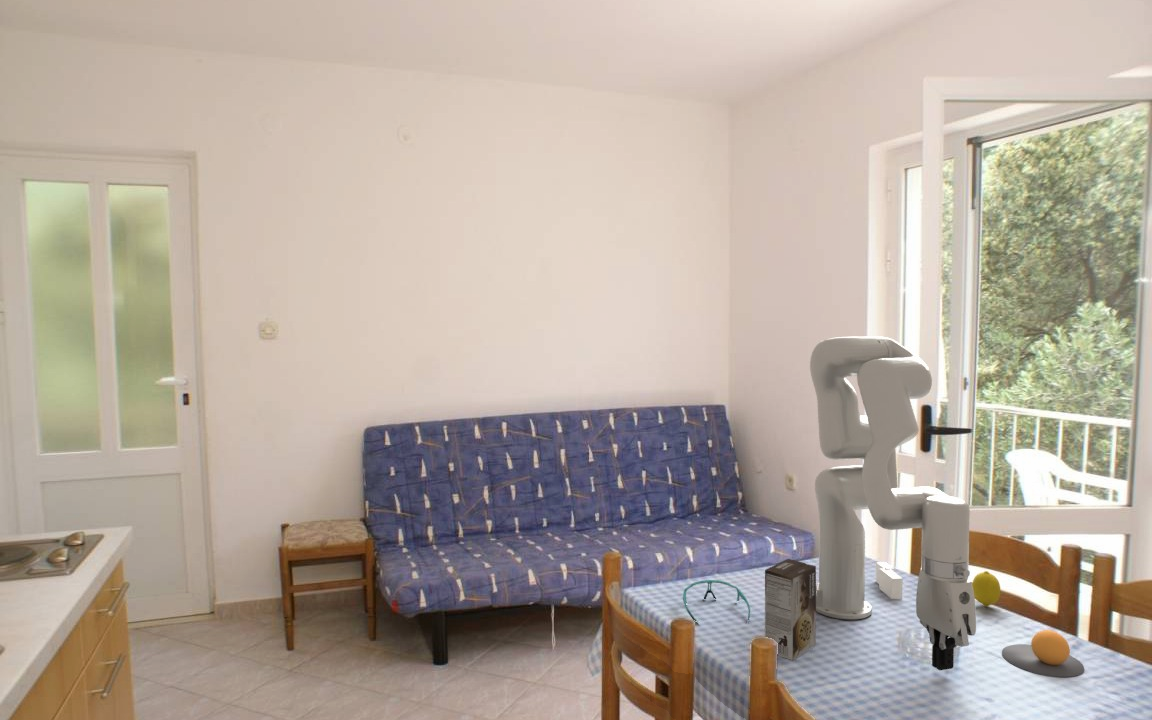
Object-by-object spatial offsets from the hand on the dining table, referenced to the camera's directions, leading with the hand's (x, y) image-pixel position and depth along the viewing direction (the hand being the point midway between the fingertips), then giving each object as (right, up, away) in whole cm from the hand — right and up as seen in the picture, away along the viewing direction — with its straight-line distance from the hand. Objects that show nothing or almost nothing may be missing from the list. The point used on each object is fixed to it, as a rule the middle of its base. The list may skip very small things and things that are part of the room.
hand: (942, 667), depth 133 cm
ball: (+22, +2, +4) cm, 22 cm away
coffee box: (-24, -1, +12) cm, 27 cm away
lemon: (+25, 0, +32) cm, 40 cm away
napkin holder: (+9, 0, +43) cm, 43 cm away
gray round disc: (+21, -1, +6) cm, 22 cm away
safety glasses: (-35, -1, +30) cm, 46 cm away
